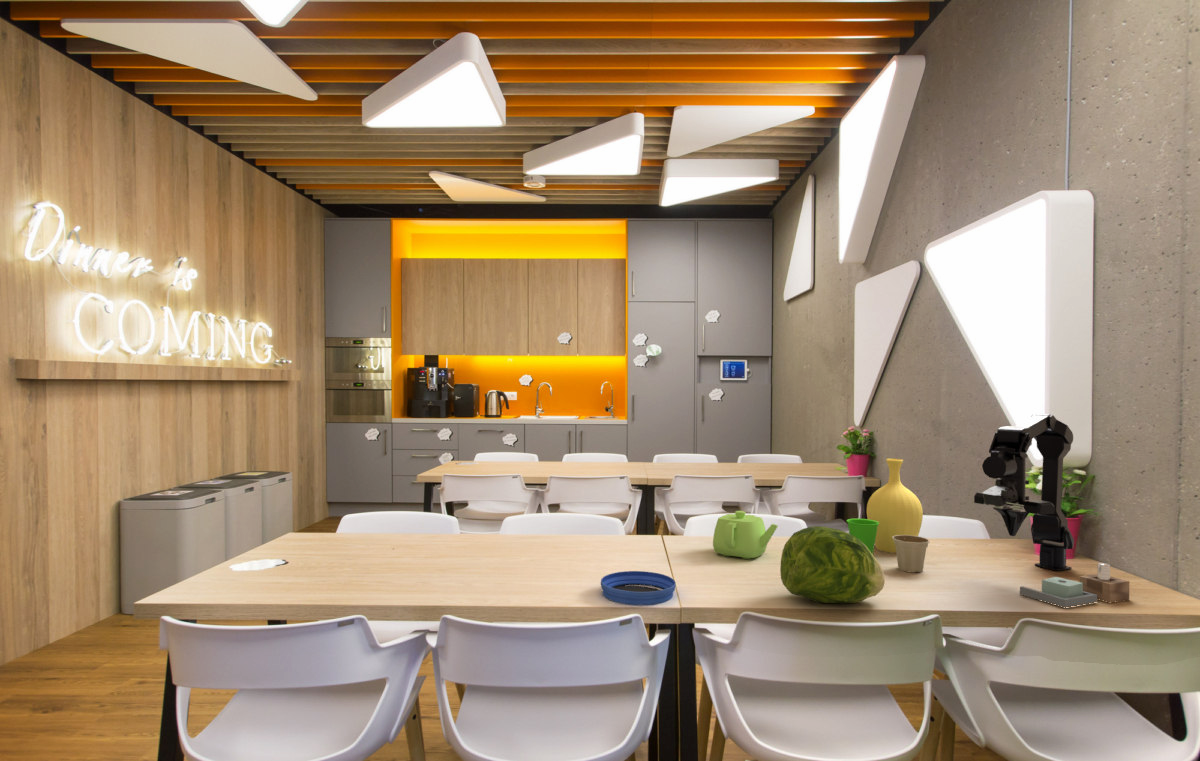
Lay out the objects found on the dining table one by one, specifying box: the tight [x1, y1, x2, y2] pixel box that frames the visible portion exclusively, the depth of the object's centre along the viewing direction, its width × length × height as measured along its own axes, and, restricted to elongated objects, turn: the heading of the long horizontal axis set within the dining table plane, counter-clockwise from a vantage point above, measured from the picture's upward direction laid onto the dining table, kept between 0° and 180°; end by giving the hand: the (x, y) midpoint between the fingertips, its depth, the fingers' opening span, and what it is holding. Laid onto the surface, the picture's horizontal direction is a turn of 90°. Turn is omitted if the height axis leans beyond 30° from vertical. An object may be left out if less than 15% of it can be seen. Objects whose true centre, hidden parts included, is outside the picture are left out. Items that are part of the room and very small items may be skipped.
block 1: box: [1041, 576, 1083, 598], centre depth 162 cm, size 6×6×5 cm
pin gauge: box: [1097, 562, 1111, 581], centre depth 164 cm, size 2×2×8 cm
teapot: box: [712, 510, 779, 560], centre depth 202 cm, size 18×20×13 cm
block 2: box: [1079, 573, 1130, 603], centre depth 164 cm, size 7×7×4 cm
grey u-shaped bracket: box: [1019, 585, 1098, 608], centre depth 162 cm, size 11×11×2 cm
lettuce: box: [779, 525, 886, 604], centre depth 160 cm, size 18×23×19 cm
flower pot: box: [892, 535, 930, 573], centre depth 187 cm, size 9×9×9 cm
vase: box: [866, 458, 924, 554], centre depth 211 cm, size 16×16×28 cm
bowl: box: [600, 570, 677, 606], centre depth 164 cm, size 18×18×4 cm
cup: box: [845, 518, 879, 556], centre depth 199 cm, size 9×9×11 cm
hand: (1012, 535), depth 176 cm, fingers closed
